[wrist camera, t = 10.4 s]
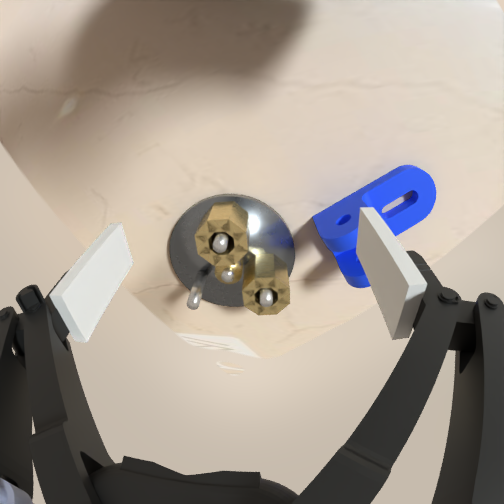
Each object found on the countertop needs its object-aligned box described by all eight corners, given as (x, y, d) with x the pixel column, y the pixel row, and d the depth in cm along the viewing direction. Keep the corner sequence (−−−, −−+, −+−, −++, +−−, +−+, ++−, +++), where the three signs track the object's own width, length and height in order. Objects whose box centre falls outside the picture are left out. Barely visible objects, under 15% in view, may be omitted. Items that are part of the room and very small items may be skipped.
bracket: (338, 259, 44) (352, 296, 36) (312, 216, 40) (323, 247, 32) (435, 202, 38) (467, 227, 30) (418, 154, 35) (452, 171, 27)
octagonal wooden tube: (201, 203, 38) (191, 221, 33) (247, 199, 38) (244, 217, 33) (208, 244, 41) (200, 266, 36) (251, 241, 41) (249, 264, 36)
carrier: (160, 200, 40) (139, 224, 32) (292, 189, 38) (299, 212, 31) (185, 303, 48) (173, 338, 41) (294, 298, 47) (299, 334, 40)
